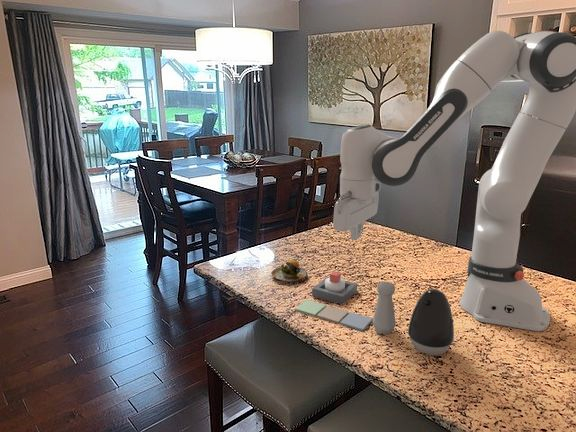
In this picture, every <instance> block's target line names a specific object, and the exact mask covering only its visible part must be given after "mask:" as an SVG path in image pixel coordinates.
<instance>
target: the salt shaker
mask: <svg viewBox="0 0 576 432" xmlns="http://www.w3.org/2000/svg"><path fill="white" fill-rule="evenodd" d="M395 291H396V286H395V284H393V283H392V282H390V281H381V282H379V283H378V284H377V288H376V292H377V294H378V296H377V297H378V298H377V301H376V306H375V310H374V313H373V321H372V322H371V323H372V324H373V328H374V330H375V332H377V333H378V335H383V336H384V335H385V336H386V335H389V334H392V333H393V331H394V329H395V328H396V325H397V324H396V323H397V320H396V314H395V306H394V302H393V301H394V300H393V295H394V294H395V293H396V292H395Z"/></svg>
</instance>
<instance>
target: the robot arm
mask: <svg viewBox="0 0 576 432" xmlns="http://www.w3.org/2000/svg"><path fill="white" fill-rule="evenodd" d="M508 77H511V78H514V79H517V80H518V79H519V80H521V81H523V82H527V83H529V92H528V95H527V98H526V101H525V102H524V104H523V105H522V107H521V108H520V111H519V113H518V114H517V116H516V118H515V119H514V122H513V123H512V125H511V127H510V129H509V131H508V133H507V135H506V136H505V138H504V140H503V142H502V145H501V147H500V149H499V152H498V154H497V156H496V159H495V160H494V163H493V165H492V166H491V168H490V169H488V170H487V171H486V172H484V174H483V175H482V176H481V178H480V180H479V184H478V191H477V199H476V200H477V201H476V209H475V218H474V219H475V220H474V221H475V222H474V230H473V240H472V247H471V248H472V249H471V255H470V257H469V259H468V262H467V279H466V284H465V288H464V291H463V293H462V296H461V297H460V300H459V302H458V303H459V305H460V307H461V308H462V309H463V310H464V311H466V312H467V313H469V314H470V315H472V317H473V318H474V319H475V320H477V321H478V322H481V323H485V324H486V323H488V324H492V325H498V326H504V327H510V328H515V329H523V330H528V331H534V332H543V331H546V329H548V327H549V326H550V323H551V316H550V315H551V314H550V311H548V309H547V308H546V307H544V306H543V302H542V301H543V300H542V297H541V294H540V293H539V291H538V290H537V289H536V288H535V287H533V286H532V284H530V283H529V282H527V280H525V278H524V276H525V274H524V266H523V264H521V265H520V264H519V263H517V257H518V256H517V255H518V250H519V243H520V238H521V218H522V213H523V212H524V211H525V210H526V209H527V207H528V204H529V202H530V199H531V198H532V196H533V193H534V192H535V189H536V187H537V185H538V184H539V183H540V182H539V181H540V179H541V178H542V174H543V172H544V170H545V168H546V165H547V163H548V161H549V159H550V157H551V156H552V154H553V152H554V151H555V149H556V147H557V146H558V144H559V142H560V140H561V139H562V137H563V135H564V133H565V132H566V130H567V129H568V127H569V125H570V123H571V121H572V119H573V117H575V116H574V115H575V113H576V36H575V35H573V34H571V33H568V32H565V31H564V32H563V31H562V32H561V31H560V32H558V31H553V30H552V31H551V30H542V31H538V32H525V33H521V34H519V35H516V36H513V35H511V34H510V33H508V32H505V31H504V30H503V31H502V30H492V31H490V32H488V33H486V34H485V35H484V36H482V37H481V38H479V39H478V40H477V41H476V42H474V43H473V44H472V45H471V46H470V47H468V48H467V49H466V50H465V51H464V52H463V53H462V54H461V55H460V56H459V57H458V58H457V59H456V60H455V61H453V63H452V64H451V65H450V66H449V68H447V69H446V71H445V72H444V73H443V75H442V76H441V78H440V79H439V81H438V82H437V84H436V87H435V91H434V95H433V98H432V101H431V103H430V104H429V106H428V108H427V109H426V110H425V112H424V113H423V114H422V115H421V116H420V117H419V118H418V119H417V120H416V121H415V122H414V123H413V125H411V127H410V128H408V130H407V131H406V132H405V133H404V134H403V135H402V136H401V137H395V136H392V135H388V134H386V133H383V131H380V130H378V129H377V128H375V127H374V126H373V125H371V124H361V125H356V126H352V127H349V128H348V129H346V130H345V131H344V133H343V134H342V137H341V142H340V151H339V152H340V154H339V156H340V158H339V161H340V165H341V172H340V175H339V195H340V196H339V199H338V200H337V201H336V202H335V203H334V207H333V208H334V209H333V220H332V226H333V229H334V230H335V231H338V232H345V233H347V232H348V231H349V232H350V239H351V240H353V241H357V240H359V239H360V238H361V237H362V231H363V229H364V225H365V221H367V220H369V219H371V218H372V217H374V216H375V215H377V213H378V208H379V202H380V201H379V200H380V199H379V197H380V195H379V193H380V190H381V184H383V185H386V186H390V187H391V186H392V187H397V186H403V185H404V184H406V183H407V182H409V181H411V179H412V178H413V177H414V175H415V173H416V171H417V169H418V166H419V164H420V161H421V160H422V157H424V155H425V154H426V153H427V151H428V150H429V149H430V148H431V147H432V146H433V145H434V144H435V143H436V142H437V140H438V139H440V137H441V136H442V135H443V134H444V133H445V132H446V131H447V130H448V129H449V128H450V127H451V126H452V125H453V124H454V123H455V122H457V121H458V120H459V119H460V118H462V117H463V116H464V115H466V114H467V113H468V112H470V111H471V110H472V109H473V108H475V107H476V106H477V105H478V104H479V103H481V102H482V101H483V100H485V98H486V97H488V96H489V95H490V94H491V93H492V91H493V90H495V88H497V86H499V84H500V83H501V82H503V81H504V80H505V79H507V78H508ZM375 178H376V179H377V180H378V181H376V180H375Z"/></svg>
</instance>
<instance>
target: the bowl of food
mask: <svg viewBox="0 0 576 432" xmlns="http://www.w3.org/2000/svg"><path fill="white" fill-rule="evenodd" d="M296 257H297V255H295V256H294V259H289V260H287V261H286V262H285V264H286V265H284V264H283V263H281V264H280V266H279V267H277V268H275V269H273V270H272V272H271V276H272V277H273V278H276V279H277V280H279V281H281V282H286V283H287V282H290V283H293V282H296V284H302V283H304V280H305V281H308V277H309V276H308V275H309V274H308V271H307V269H304V268H302V267H300V264H299V262H298V261H297V260H295V258H296Z"/></svg>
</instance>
